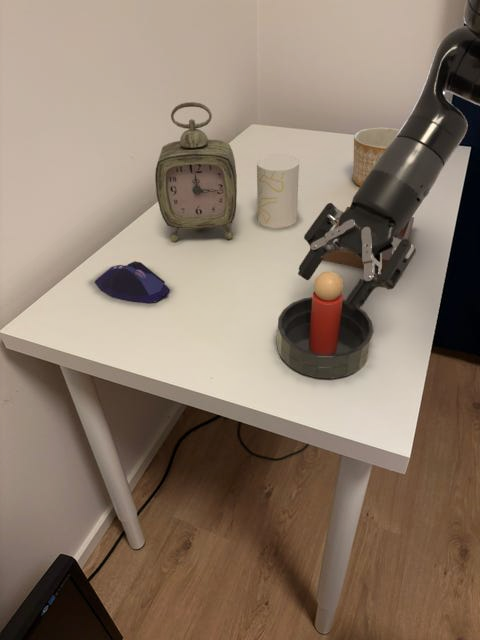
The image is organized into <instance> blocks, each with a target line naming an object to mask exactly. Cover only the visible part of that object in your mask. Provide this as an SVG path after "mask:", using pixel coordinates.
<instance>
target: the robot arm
mask: <svg viewBox="0 0 480 640" xmlns="http://www.w3.org/2000/svg"><path fill="white" fill-rule="evenodd" d="M463 21H464V24H465V25H463V26H462V25H461V26H458V27H457V28H455V29H452V31H450V32H448V33H447V34H446V35H445V36H444V37H443V39H442V40H441V41H440V43H439V44H438V46H437V48H436V50H435V53H434V55H433V58H432V61H431V64H430V67H429V71H428V74H427V76H426V77H427V78H426V81H425V83H424V84H423V88H422V90H421V93H420V95H419V97H418V100H417V102H416V104H415V106H414V107H413V110H412V111H411V113H410V115H409V116H408V118H407V119H406V121H405V122H404V124H403V125H402V127H401V128H400V129H399V130H400V131H399V133H398V134H397V136H396V137H395V139H394V140H393V142H392V143H391V144H390V145H389V146H388V147H387V149H386V150H385V151H384V152H383V154H382V155H381V156H380V158H379V159H378V161H377V162H376V164H375V165H374V167H373V168H372V170H371V171H370V173H369V174H368V176H367V177H366V179H365V181H364V182H363V184H362V185H361V187H360V186H359V188H358V190H357V191H356V192H355V194H354V196H353V197H352V200H351V204H350V206H349V207H350V208H349V209H348V210H346V209H345V210H346V211H345V210H344V211H342V210H340V208H339V209H338V208H337V206H335V204H333V203H332V202H328V203H327V204H325V206H324V207H323V209H322V210H321V212H320V213H319V214H318V216H317V217H316V218H315V220H314V221H313V223H312V224H311V225H310V227H309V228H308V229H307V231H306V233H304V235H303V238H304V240H305V241H306V242H307V243H308V245H309V251H308V252H307V254H306V256H304V258H303V260H302V261H301V263H300V264H299V267H298V272H297V275H298V276H299V277H301V278H302V279H304V280H305V281H309V280H310V279H312V277H313V275H314V274H315V273H316V271H317V269H318V268H319V266H320V265H321V263H322V262H323V261H324V260H323V258H322V256H324V255H326V254H329V253H331V252H333V251H339V250H341V249H343V248H344V249H345V250H346V251H348V252H350V253H354V254H356V255H357V256H358V257H359V258H361V259H362V261H363V264H364V268H363V279H362V278H359V279H358V281H357V282H356V283H355V284H356V285H355V286H354V287H353V289H352V290H351V292H350V293H349V294H348V296H347V297H346V299H344V300H345V302H344V305H346V306H347V307H349V308H350V309H352V310H356V308H362V307H363V306H364V304H365V303H366V301H367V300H368V299H369V297H370V296H371V294H372V293H373V291H374V290H376V288H384V289H387V290H389V291H390V290H393V289H394V288H395V287H396V285H397V283H398V282H399V280H400V279H401V277H402V275H403V274H404V272H405V271H406V269H407V267H408V265H409V264H410V263H411V261H412V259H413V257H414V256H415V254H416V252H417V249H416V247H415V245H413V243H412V242H411V241H410V240H409V238H408V239H403V240H401V239H398V238H397V237H398V234H399V232H400V231H401V230H403V229H404V228H405V226H406V225H407V223H408V222H409V220H410V219H411V217H414V214H415V213H416V212H417V210H418V209H419V207H420V206H421V204H422V203H423V202H424V200H425V199H426V197H427V196H428V195H429V193H430V191H431V190H432V188H433V186H434V185H435V184H436V182H437V180H438V178H439V176H440V174H441V172H442V170H443V169H444V167H445V165H446V164H447V163H448V161H449V160H450V158H451V157H452V155H453V154H454V152H455V151H456V150H457V148H458V147H459V145H460V144H461V142H462V140H463V139H464V138H465V135H466V134H467V131H468V126H469V125H468V121H467V118H466V117H465V115H463V113H462V112H461V111H460V110H459V108H457V107H455V106H454V105H453V104H452V103H451V102H450V101H449V100H448V99H447V98H446V97H445V94H446V92H448V93H451V94H453V95H455V96H457V97H460V98H461V99H463V100H465V101H468V102H470V103H473V104H474V105H477V106H479V107H480V0H465V3H464V8H463ZM338 222H339V227H337V228H335V227H334V226H336V225H337V224H338ZM333 227H334V228H335V229H334V228H333ZM332 228H333V229H332ZM337 238H339V240H337ZM392 247H393V249H392V254H393V255H392V256H391V258H390V259H389V261H388V263H387V264H386V266H385V268H384V269H383V271H382V272H381V269H382V252H384V251H386V250H388V249H390V248H392Z"/></svg>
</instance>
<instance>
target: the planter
mask: <svg viewBox="0 0 480 640" xmlns="http://www.w3.org/2000/svg"><path fill="white" fill-rule="evenodd" d="M400 130H401V129H398V128H391V127H370V128H366V129H365V128H364V129H361V130H359V131H357V132H356V133H354V135H353V168H352V169H353V171H352V178H353V181H354V183H355V184H356V185H357V186H359V188H360V187H361V185H362V184H363V182H364V181H365V179H366V177H367V176H368V174H369V173H370V171H371V170H372V168H373V167H374V165H375V164H376V162H377V161H378V159H379V158H380V156H381V155H382V154H383V152H384V151H385V150H386V149H387V147H388V146H389V145H390V144H391V143H392V142H393V140H394V139H395V137H396V136H397V134H398V133H399V131H400Z"/></svg>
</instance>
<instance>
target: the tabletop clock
mask: <svg viewBox="0 0 480 640" xmlns="http://www.w3.org/2000/svg"><path fill="white" fill-rule="evenodd" d="M184 108H200V109H203V110H204V111H206V112H207V113H208V118H207V119H206V120H205V121H203V122H201V123H196V120H194V119H192V118H191V119H189V120H188V123H187V124H186V123H181V122H178V120H176V119H175V117H174V115H175V114H176V112H178V110H181V109H184ZM212 117H213V114H212V112H211V109H210V108H209V107H208V106H207V105H205V104H203V103H201V102H195V101H193V102H192V101H191V102H189V101H188V102H183V103H180V104H178V105H176V106H175V107H174V108H173V109H172V111H171V113H170V119H171V121H172V123H173V124H174V125H176V126H177V127H179V128H182V129H186V130H185V131H183V132H182V133H181V136H180V139H179V140H178V141H177V140H176V141H171V142H168V143H167V144H165V145H163V146H162V148H161V150H160V154H159V157H158V159H157V163H156V167H155V176H154V177H155V178H154V179H155V181H154V182H155V192H156V199H157V202H158V203H157V204H158V207H159V210H160V214H161V216H162V217H161V218H162V219H163V221H164V222H165V224H166V226H168V227H171V228H174V229H175V231H174V232H173V233H171V234H170V240H171V241H172V242H178V241H179V240H180V239H179V238H180V237H179V234H178V233H179V232H180V229H181V230H205V229H214V228H223V230H224V231H225V234H224V237H225V239H226V240H231V239H233V237H234V234H233V232H232V231H231V230H229V229H228V225H231V224H233V221H234V220H235V217H236V212H237V195H238V182H237V178H238V177H237V169H236V167H237V166H236V160H235V159H236V158H235V156H234V151H233V150H232V147H231V145H230V143H229V142H226V141H224V140H220V139H219V140H218V139H209V138H208V136H207V135H206V133H205V132H204V131H203V130H201V128H203V127H205V126H207V125H208V124H209V123H210V122H211V120H212Z"/></svg>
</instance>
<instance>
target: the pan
mask: <svg viewBox="0 0 480 640" xmlns="http://www.w3.org/2000/svg"><path fill="white" fill-rule="evenodd" d="M345 300H346V299H343V302H342V310H341V318H340V326H339V335H338V343H337V349H336V350H335V351H334V352H333V353H331V354H317V353H315V352H313V351H312V350H311V349H310V347H309V337H310V323H311V309H312V296H309V297H305V298H300V299H298V300H296V301H294V302H293V301H292V303H290V304H289V305H288V306H286V307H285V308H283V309H282V311H281V313H280V315H279V317H278V319H277V344H276V345H277V346H276V347H277V350H278V354H279V356H280V358H281V359H282V360H283V361H284V362H285V363H286V364H287V366H288V367H290V368H291V369H293V370H295V371H297V372H298V373H300V374H301V375H306V376H309V377H312V378H316V379H337V378H343V377H347V376H349V375H351V374H353V373H355V372H358V371H359V370H360V369H361V368H362V367H363V366H364V365H365V364H366V363H367V362H368V358H369V356H370V353H371V347H372V342H373V336H374V324H373V321H372V320H371V318H370V317H369V314H368V313H367V312H366V311H364V310H363V309H362V307H360V308H356V310H352V309H350V308H349V307H347V306H346V305H344V302H345Z"/></svg>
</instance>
